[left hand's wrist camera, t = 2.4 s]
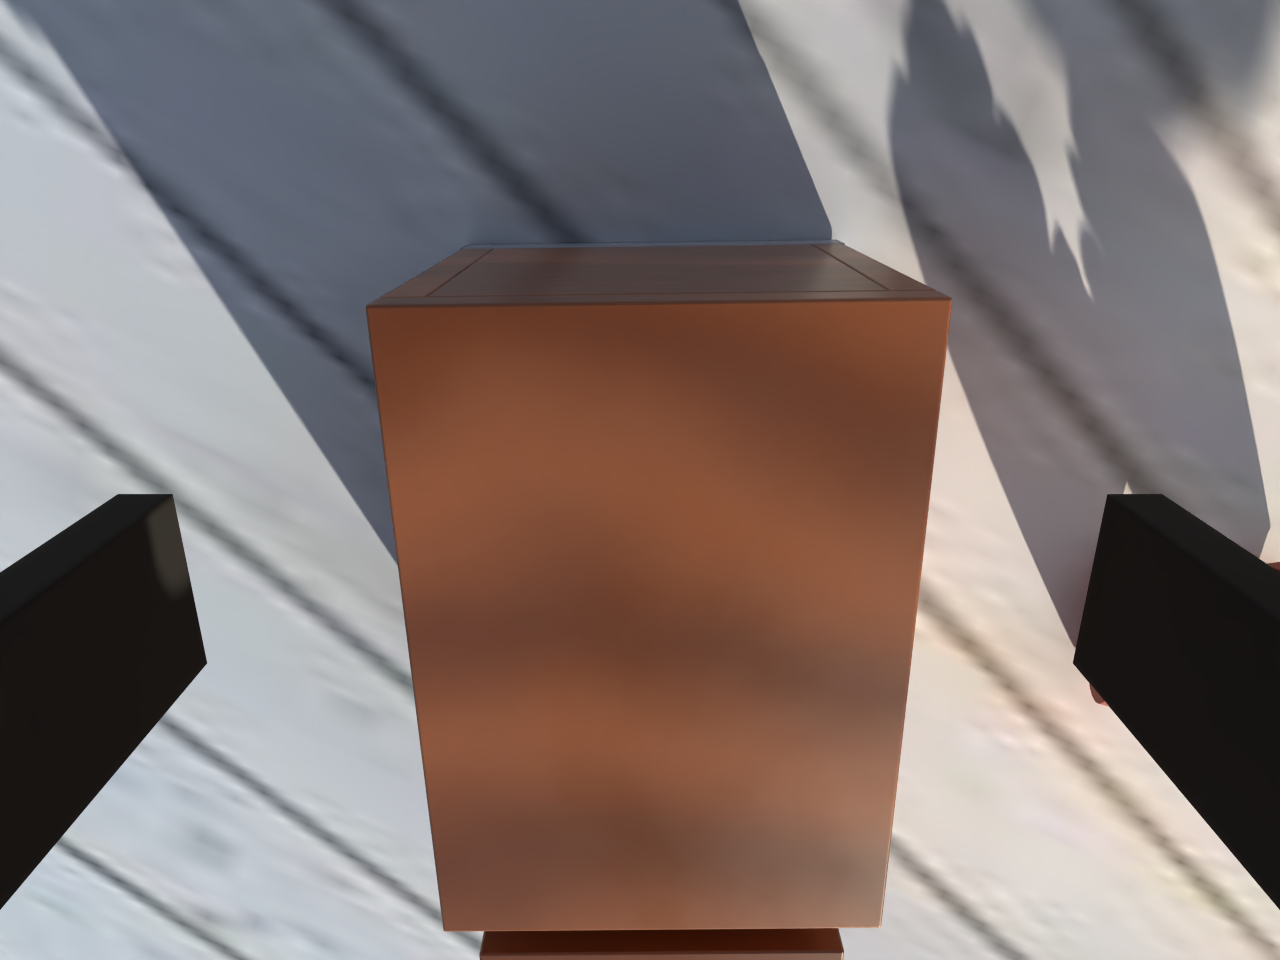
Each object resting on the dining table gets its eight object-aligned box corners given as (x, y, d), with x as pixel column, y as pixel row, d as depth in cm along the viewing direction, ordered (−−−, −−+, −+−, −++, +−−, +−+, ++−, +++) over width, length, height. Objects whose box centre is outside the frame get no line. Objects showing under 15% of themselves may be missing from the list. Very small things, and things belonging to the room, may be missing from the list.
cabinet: (808, 688, 32) (881, 929, 22) (503, 691, 33) (442, 933, 23) (837, 239, 27) (954, 297, 17) (467, 244, 27) (363, 304, 17)
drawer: (785, 884, 35) (829, 1112, 26) (530, 886, 35) (495, 1115, 26) (814, 386, 27) (888, 490, 19) (492, 390, 27) (429, 495, 19)
